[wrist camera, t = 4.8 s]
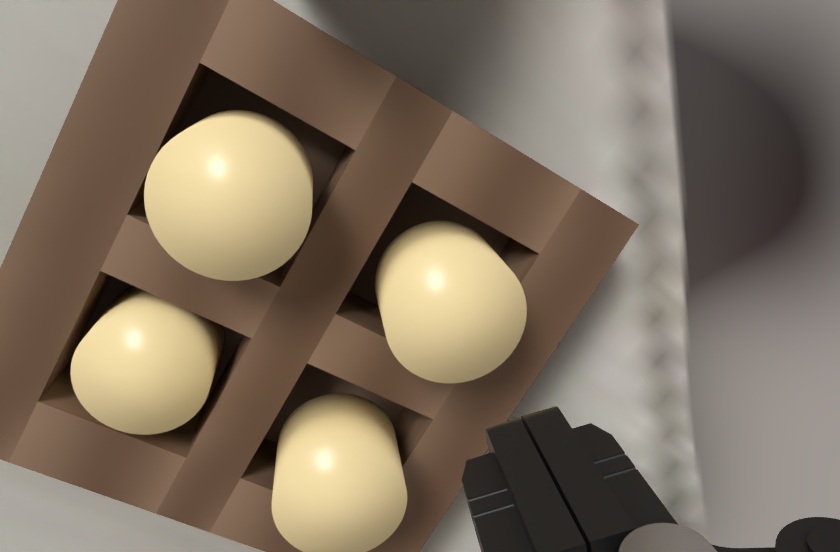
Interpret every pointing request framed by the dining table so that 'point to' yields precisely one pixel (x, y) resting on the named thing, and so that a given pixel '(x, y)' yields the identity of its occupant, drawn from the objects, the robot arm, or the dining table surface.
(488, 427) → the robot arm
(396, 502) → the button
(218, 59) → the button board
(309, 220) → the button
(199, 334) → the button
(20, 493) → the dining table surface
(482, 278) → the button
